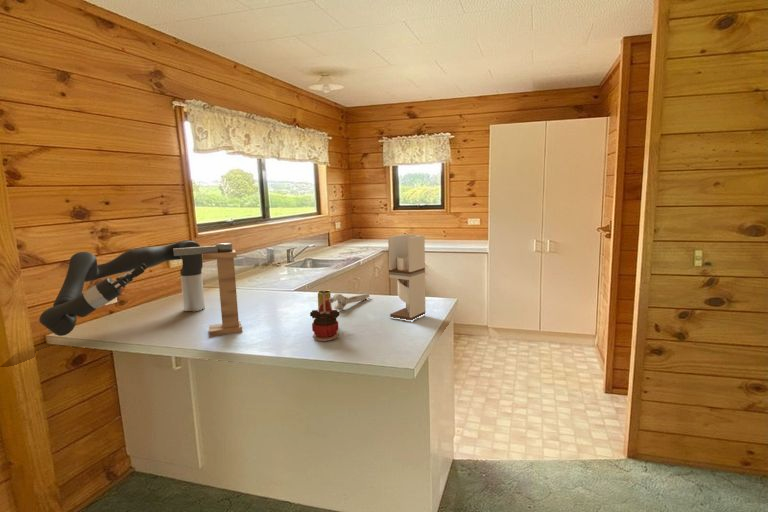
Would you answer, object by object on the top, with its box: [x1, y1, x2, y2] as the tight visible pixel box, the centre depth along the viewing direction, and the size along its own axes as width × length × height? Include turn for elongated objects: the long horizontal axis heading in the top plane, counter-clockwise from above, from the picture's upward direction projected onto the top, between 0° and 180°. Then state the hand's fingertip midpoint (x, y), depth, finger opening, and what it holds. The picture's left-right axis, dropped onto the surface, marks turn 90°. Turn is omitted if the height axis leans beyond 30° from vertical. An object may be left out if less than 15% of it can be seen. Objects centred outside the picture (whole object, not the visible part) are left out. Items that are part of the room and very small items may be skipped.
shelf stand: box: [202, 249, 243, 337], centre depth 171 cm, size 9×12×32 cm
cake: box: [309, 291, 340, 342], centre depth 161 cm, size 11×9×18 cm
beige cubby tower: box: [387, 233, 426, 320], centre depth 183 cm, size 11×11×35 cm
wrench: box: [332, 293, 370, 311], centre depth 207 cm, size 8×2×30 cm
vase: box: [317, 289, 333, 311], centre depth 176 cm, size 6×6×14 cm
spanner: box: [173, 242, 234, 256], centre depth 167 cm, size 6×21×3 cm, turn 117°
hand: (144, 267), depth 159 cm, fingers open, 8 cm apart
